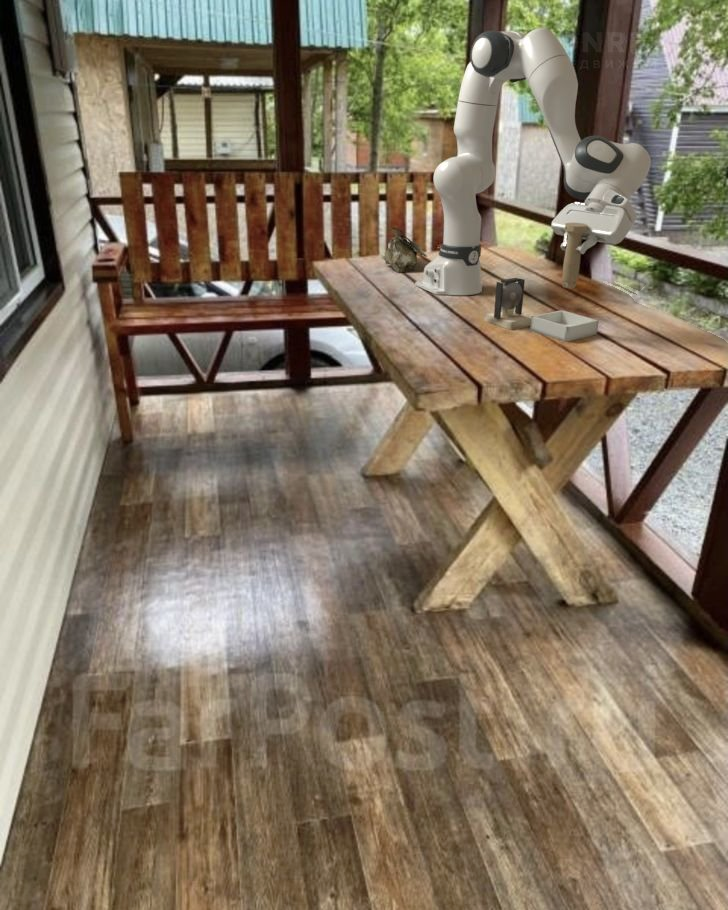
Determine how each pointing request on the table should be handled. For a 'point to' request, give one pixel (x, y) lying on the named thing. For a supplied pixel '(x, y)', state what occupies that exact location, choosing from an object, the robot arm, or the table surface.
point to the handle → (572, 253)
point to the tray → (564, 325)
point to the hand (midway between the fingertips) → (571, 250)
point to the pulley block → (509, 305)
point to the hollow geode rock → (402, 252)
